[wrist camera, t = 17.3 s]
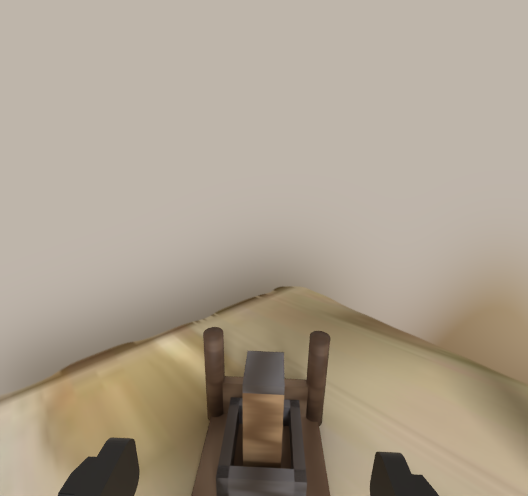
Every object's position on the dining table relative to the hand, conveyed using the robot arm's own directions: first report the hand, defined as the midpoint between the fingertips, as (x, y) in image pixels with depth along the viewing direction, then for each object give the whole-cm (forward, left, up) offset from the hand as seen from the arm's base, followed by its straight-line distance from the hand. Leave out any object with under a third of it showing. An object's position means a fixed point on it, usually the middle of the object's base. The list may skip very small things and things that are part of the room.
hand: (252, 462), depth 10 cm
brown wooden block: (0, -18, -23) cm, 29 cm away
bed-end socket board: (0, -19, -24) cm, 30 cm away
